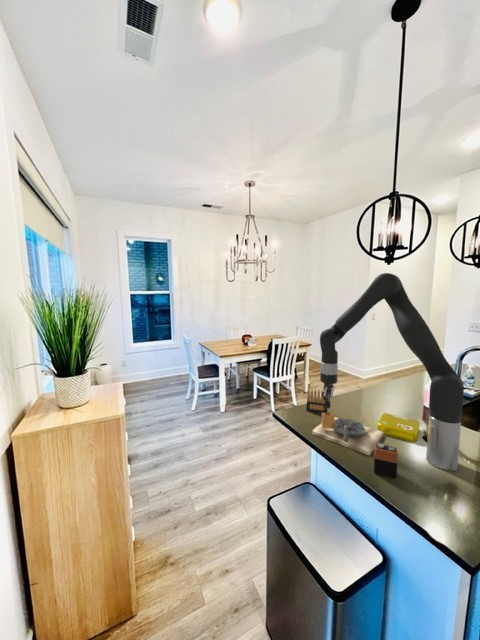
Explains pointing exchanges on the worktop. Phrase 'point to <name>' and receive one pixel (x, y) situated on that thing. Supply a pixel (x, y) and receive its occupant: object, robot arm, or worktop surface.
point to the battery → (385, 460)
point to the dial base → (351, 437)
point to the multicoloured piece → (341, 425)
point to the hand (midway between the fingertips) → (327, 407)
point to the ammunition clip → (315, 402)
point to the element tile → (399, 427)
